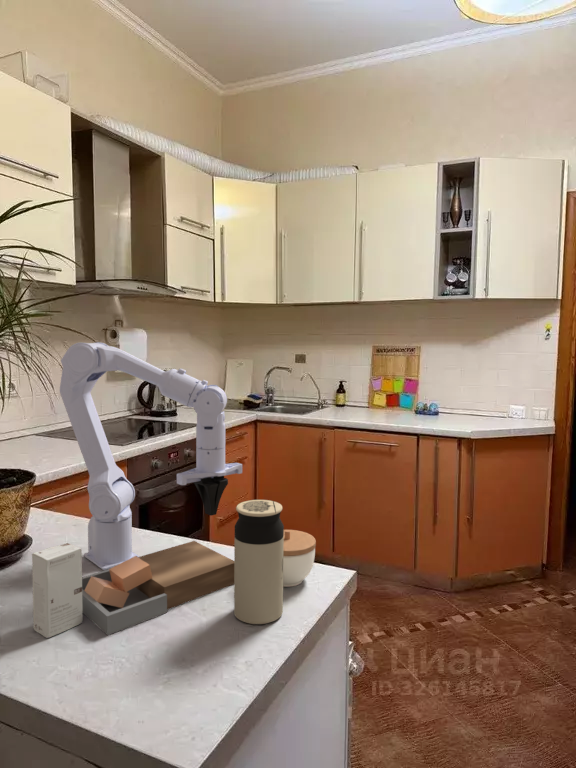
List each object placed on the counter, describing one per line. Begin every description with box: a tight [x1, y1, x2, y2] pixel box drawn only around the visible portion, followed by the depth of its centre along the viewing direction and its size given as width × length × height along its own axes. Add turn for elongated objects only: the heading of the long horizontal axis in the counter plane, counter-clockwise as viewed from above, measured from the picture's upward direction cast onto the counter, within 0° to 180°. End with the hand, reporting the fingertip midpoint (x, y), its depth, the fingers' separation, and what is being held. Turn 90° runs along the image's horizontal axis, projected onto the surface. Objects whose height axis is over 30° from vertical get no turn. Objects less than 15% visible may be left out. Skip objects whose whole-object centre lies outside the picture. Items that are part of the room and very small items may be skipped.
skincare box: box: [31, 542, 84, 639], centre depth 83 cm, size 6×4×12 cm
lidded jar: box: [283, 529, 317, 588], centre depth 100 cm, size 11×11×9 cm
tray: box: [82, 568, 168, 636], centre depth 90 cm, size 16×10×3 cm, turn 43°
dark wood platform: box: [135, 540, 234, 611], centre depth 98 cm, size 14×15×4 cm
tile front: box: [84, 576, 129, 608], centre depth 89 cm, size 5×5×2 cm
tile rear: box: [109, 556, 152, 592], centre depth 91 cm, size 5×5×2 cm
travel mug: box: [233, 499, 285, 625], centre depth 87 cm, size 8×8×18 cm
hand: (210, 513), depth 107 cm, fingers closed
